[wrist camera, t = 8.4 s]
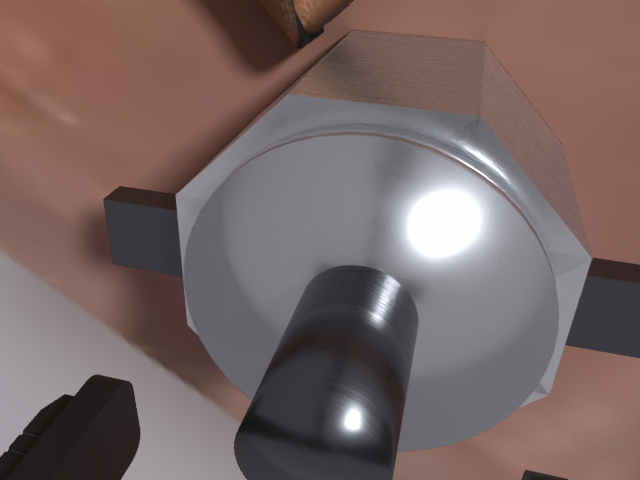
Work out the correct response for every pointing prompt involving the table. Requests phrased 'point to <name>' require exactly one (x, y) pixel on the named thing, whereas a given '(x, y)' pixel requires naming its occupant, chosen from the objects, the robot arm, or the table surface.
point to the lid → (368, 299)
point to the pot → (432, 120)
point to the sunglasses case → (303, 17)
